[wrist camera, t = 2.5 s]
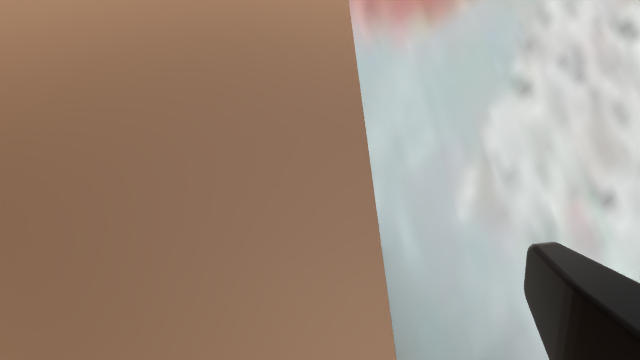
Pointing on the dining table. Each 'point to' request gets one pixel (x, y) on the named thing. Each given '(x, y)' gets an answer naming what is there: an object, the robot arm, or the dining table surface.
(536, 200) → the dining table surface
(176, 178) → the walnut card box
